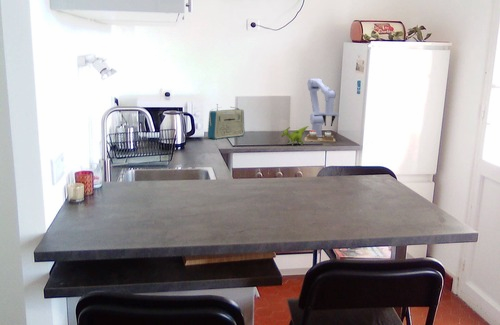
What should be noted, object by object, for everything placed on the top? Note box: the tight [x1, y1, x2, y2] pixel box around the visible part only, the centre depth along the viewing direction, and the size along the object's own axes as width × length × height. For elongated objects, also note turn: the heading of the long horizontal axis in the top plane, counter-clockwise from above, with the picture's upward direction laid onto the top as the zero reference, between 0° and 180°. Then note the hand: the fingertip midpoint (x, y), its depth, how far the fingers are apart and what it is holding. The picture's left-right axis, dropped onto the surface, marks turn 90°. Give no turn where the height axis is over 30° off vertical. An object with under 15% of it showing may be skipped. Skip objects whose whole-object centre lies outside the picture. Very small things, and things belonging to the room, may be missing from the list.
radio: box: [207, 103, 246, 140], centre depth 354 cm, size 30×8×25 cm, turn 131°
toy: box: [280, 125, 309, 146], centre depth 333 cm, size 8×21×15 cm, turn 115°
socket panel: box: [303, 133, 336, 144], centre depth 351 cm, size 12×22×4 cm, turn 81°
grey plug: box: [324, 130, 332, 137], centre depth 349 cm, size 4×4×4 cm
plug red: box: [309, 129, 316, 136], centre depth 351 cm, size 4×4×4 cm
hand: (328, 125), depth 352 cm, fingers open, 4 cm apart
